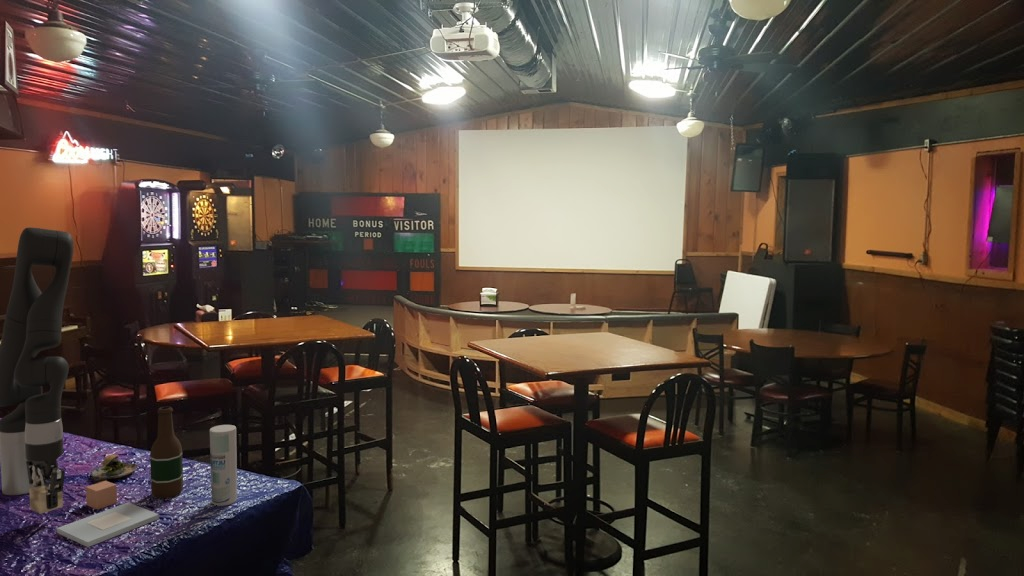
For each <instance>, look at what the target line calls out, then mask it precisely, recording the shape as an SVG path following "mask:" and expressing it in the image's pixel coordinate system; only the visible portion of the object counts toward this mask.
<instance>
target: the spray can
mask: <svg viewBox="0 0 1024 576" xmlns="http://www.w3.org/2000/svg"><path fill="white" fill-rule="evenodd" d="M237 449H238V448H237V427H236V426H235V425H232V424H221V425H220V424H219V425H215V426H212V427H211V428H210V429H209V450H210V451H209V452H210V486H211V487H210V488H211V489H210V490H211V504H212V505H213V504H214V505H213V506H216V505H217V506H218V507H222V506H228V505H229V506H230V505H232V504H234V503H236V502H237V500H238V482H237V481H238V480H237V479H238V474H237V473H238V470H237V469H238V468H237V467H238V466H237V465H238V463H237V461H238V459H237V453H238V452H237Z"/></svg>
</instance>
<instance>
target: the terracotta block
mask: <svg viewBox="0 0 1024 576" xmlns="http://www.w3.org/2000/svg"><path fill="white" fill-rule="evenodd" d="M85 495H86V506H88V507H91V508H92V509H95V510H100V509H104V508H106V507H109V506H111V505H112V506H113V505H115V504H118V492H117V484H116V483H113V482H110V481H108V480H106V481H103V482H97V483H93V484H92V485H91V484H90V485H88V486H85Z"/></svg>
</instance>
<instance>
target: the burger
mask: <svg viewBox="0 0 1024 576" xmlns="http://www.w3.org/2000/svg"><path fill="white" fill-rule="evenodd" d="M105 453H106V454H107V456H105V457H104V458H103V460H102V464H101V466H98V467H96V468H94V469H93V470H92V471H91V472H90V479H91V480H93V479H94V480H95V482H97V483H100V482H103V481H108V480H112V479H118V478H119V479H120V478H123V477H126V476H128V475H130V474H132V473H133V472H134V471H136V469H137V468H138V465H137V464H136V463H132V462H121V461H120V460H118V458H119V455H117V454H108V453H107V451H105ZM91 476H92V477H91ZM94 480H93V481H94Z"/></svg>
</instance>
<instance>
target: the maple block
mask: <svg viewBox="0 0 1024 576" xmlns="http://www.w3.org/2000/svg"><path fill="white" fill-rule="evenodd" d="M58 486H59V485H58ZM49 488H50V485H49ZM29 492H30V493H29V509H31V511H34V512H36V513H37V514H40V515H43V514H45V513H47V512H51V511H55V510H57V509H60V508H63V507H64V497H63V495H64V490H63V491H61V492H58V506H57V507H56V508H53V509H47V504H46V495H47V494H46V491H45V487H44V486H42V485H41V486H38V487H34V488H31V489H29Z"/></svg>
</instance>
